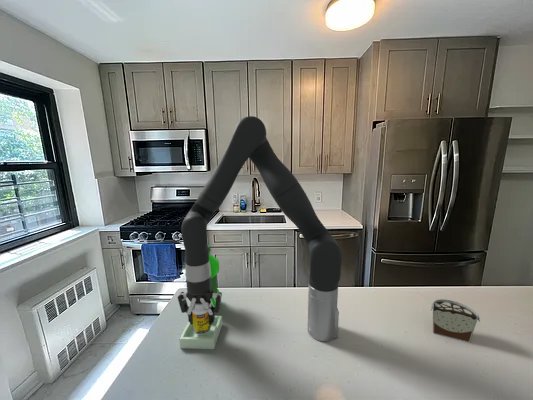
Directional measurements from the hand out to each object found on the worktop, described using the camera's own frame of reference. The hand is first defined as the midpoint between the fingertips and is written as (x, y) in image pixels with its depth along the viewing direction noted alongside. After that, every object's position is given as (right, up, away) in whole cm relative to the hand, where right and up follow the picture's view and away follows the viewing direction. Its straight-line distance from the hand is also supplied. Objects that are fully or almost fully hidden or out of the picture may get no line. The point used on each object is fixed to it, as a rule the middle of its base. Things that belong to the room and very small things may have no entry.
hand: (201, 322), depth 74 cm
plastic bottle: (-2, -2, +16) cm, 16 cm away
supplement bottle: (0, -3, 0) cm, 3 cm away
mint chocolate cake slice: (+82, -4, +1) cm, 82 cm away
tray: (0, -5, +1) cm, 5 cm away
